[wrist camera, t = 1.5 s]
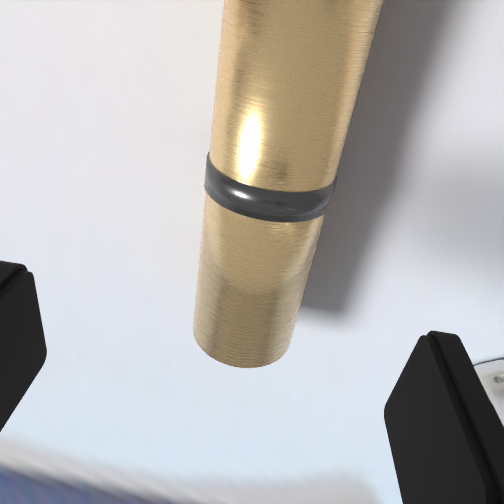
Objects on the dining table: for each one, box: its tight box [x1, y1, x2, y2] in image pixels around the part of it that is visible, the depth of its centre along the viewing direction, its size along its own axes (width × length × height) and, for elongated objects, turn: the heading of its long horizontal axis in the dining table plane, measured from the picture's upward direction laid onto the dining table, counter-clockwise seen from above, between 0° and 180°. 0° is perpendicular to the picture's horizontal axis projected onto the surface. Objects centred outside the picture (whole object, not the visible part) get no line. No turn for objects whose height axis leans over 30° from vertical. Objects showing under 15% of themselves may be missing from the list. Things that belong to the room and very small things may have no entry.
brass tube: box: [193, 0, 383, 368], centre depth 20 cm, size 20×6×6 cm, turn 172°
